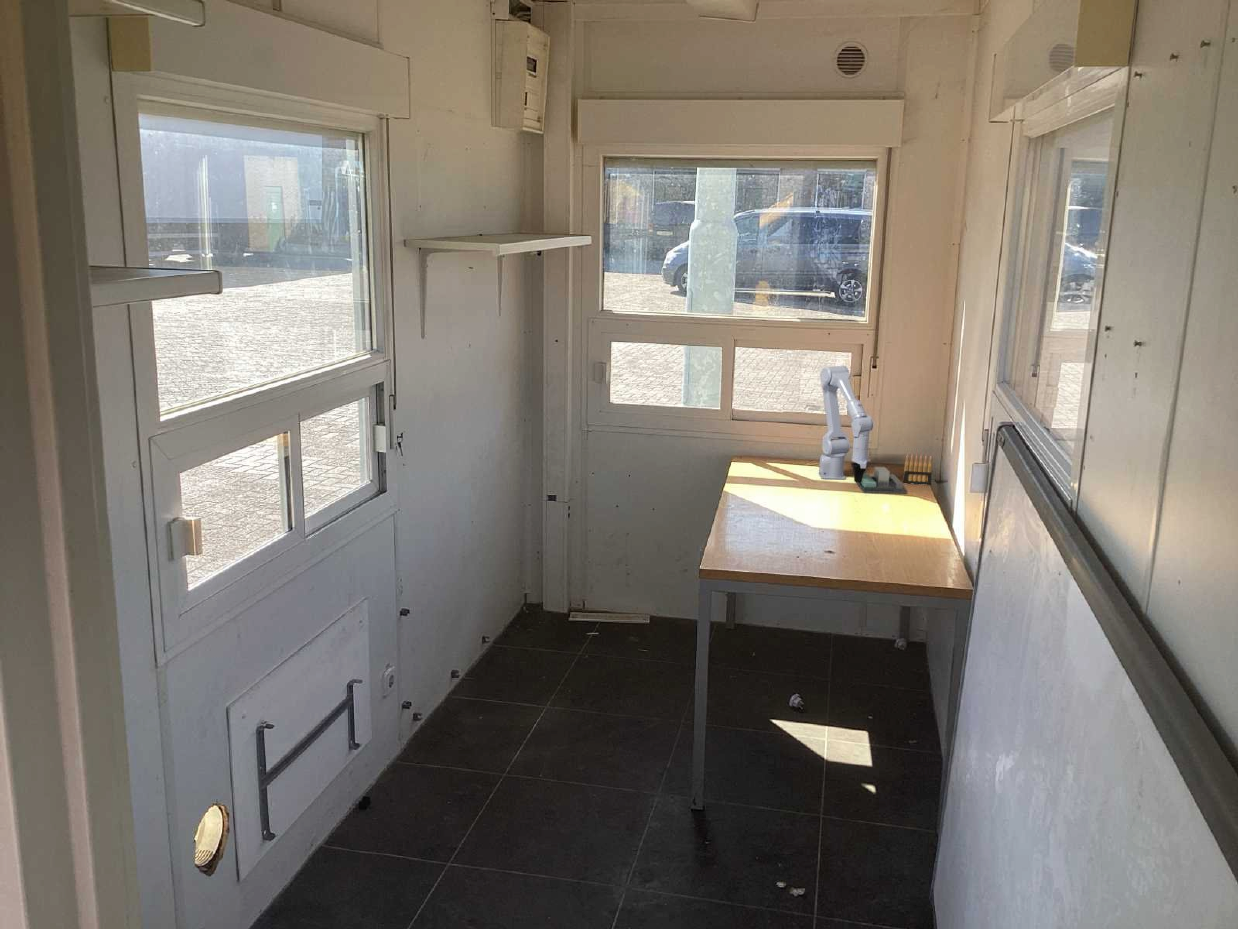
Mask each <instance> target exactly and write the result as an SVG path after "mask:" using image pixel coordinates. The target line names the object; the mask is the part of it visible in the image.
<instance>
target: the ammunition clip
mask: <svg viewBox="0 0 1238 929" xmlns="http://www.w3.org/2000/svg"><path fill="white" fill-rule="evenodd" d="M923 460H924V461H923ZM903 468H904V469H903V478H902V484H903V483H907V485H912V484H911V483H914V484H913V485H919V484H927V485H926V486H931V485H932V471H933V455H932V454H930V456H929V458H928V454H925V456H924V458H923V454H922V453H921V454H920V456H919V455H918V453H917V454H915V458H914V454H913V453H912V454H911V455H909V453H907V454H906V456H905V461H904V466H903Z"/></svg>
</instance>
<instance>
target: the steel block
mask: <svg viewBox="0 0 1238 929" xmlns="http://www.w3.org/2000/svg"><path fill="white" fill-rule="evenodd" d="M889 474H890V471H889V470H888V468H887V467H886V466H875V467H874V473H873V476H874V481H875V482H876V485H877V486H878V487H888V484H889Z"/></svg>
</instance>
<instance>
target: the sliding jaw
mask: <svg viewBox="0 0 1238 929" xmlns="http://www.w3.org/2000/svg"><path fill="white" fill-rule="evenodd" d="M861 484H862V485H863V486H864V487H876V482H875V481H874V480H873V479H872V478H871V475H870V474H869V473H864V474H863V478H862V481H861Z"/></svg>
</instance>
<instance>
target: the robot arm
mask: <svg viewBox="0 0 1238 929" xmlns="http://www.w3.org/2000/svg"><path fill="white" fill-rule="evenodd" d="M819 377H820V385H821V388H822V396H823V402H824V411H825V418H826V426H827V427H826V428H827V432H825V434H824V435H823V436H822V443H821V444H822V445H821V449H822V452H823V453H824V454H821V455H820V456H819V467H818V468H819V470H818V475H819V477H820V478H821V479H824V480H827V479H828V480H829V479H830V480H847V478H846V476H845V475H844V473H845V472H844V471H845V470H844V468H845V456H847V454H848V453H849V452H850V450H851V443H850V441H849V438H848V434H847V433H846V432H845V431H843V430H842V424H841V416H840V408H839V407H840V406H839V399H838V392H837V391H838V390H839V391H840V392H841V394H842V396H843V397H844V399H845V401H846V405H845V408H846V410H847V413H848V415H849V417H850V419H851V423H850V425H851V430H852V436H853V443H852V456H851V462H852V463H850V464H851V468H852V470H853V480H854V479H855V481H854V482H855V483H856V482H861V481H862V478H863V474H865V472H866V470H867V469H868V465H867V464H868V462H871V458H868V453H869V444H870V442H869V441H870V432H871V431H872V430H873V429H874V420H873V418H872V416H870V415H869V414H868V413H866V411H865V409H864V407H863V405H862V403H861V400H859V399H856V396H855V393H854V391H853V388H852V385H851V382H850V378H851V373H850V370H849V368H848V367H847V366H846V365H840V366H838V365H837V366H825V367H823V368H822V370H821V371H820V373H819Z"/></svg>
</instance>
